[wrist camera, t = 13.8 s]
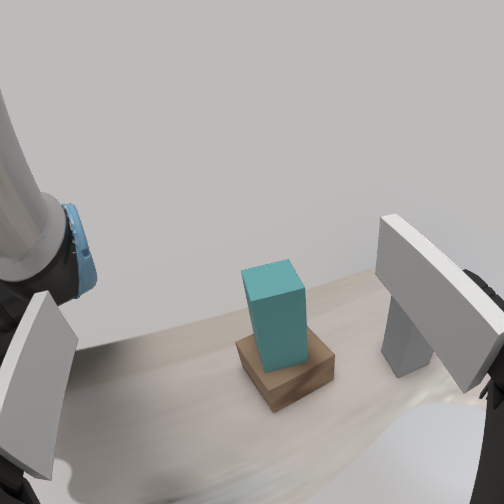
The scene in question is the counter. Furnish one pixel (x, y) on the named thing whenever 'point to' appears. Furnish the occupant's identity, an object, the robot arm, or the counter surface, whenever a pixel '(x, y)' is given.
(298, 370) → the walnut block
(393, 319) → the grey pillar
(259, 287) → the teal pillar
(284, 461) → the counter surface
